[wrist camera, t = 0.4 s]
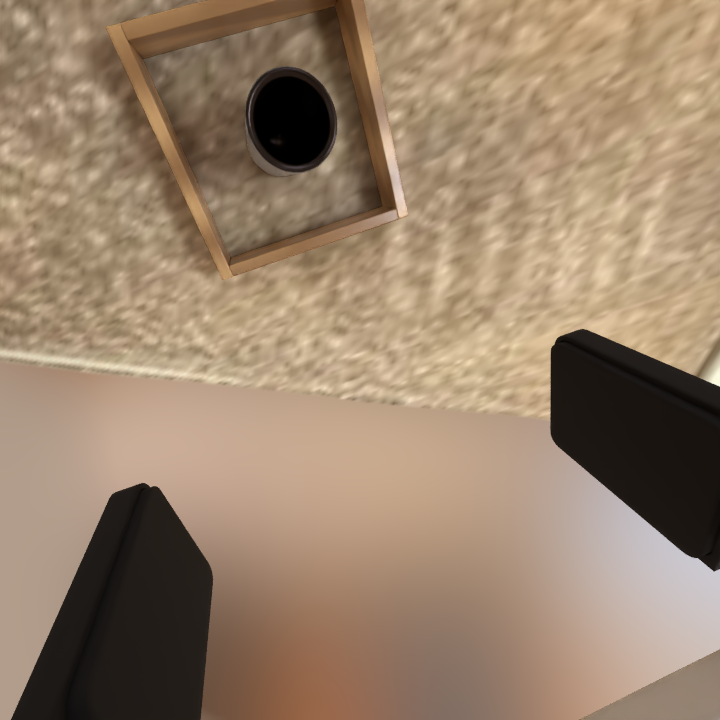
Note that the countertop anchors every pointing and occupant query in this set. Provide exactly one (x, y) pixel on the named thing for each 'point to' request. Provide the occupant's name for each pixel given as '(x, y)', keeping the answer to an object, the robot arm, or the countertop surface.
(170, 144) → the wooden square frame
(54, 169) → the countertop surface
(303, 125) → the planter
